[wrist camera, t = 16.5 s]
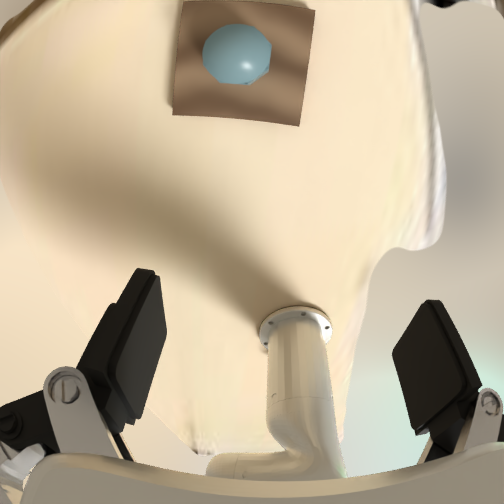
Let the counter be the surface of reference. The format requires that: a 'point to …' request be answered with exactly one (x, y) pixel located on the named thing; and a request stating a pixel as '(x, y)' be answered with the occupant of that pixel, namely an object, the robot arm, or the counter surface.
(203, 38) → the brown flat square piece
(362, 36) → the counter surface
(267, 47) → the cap
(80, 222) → the counter surface
